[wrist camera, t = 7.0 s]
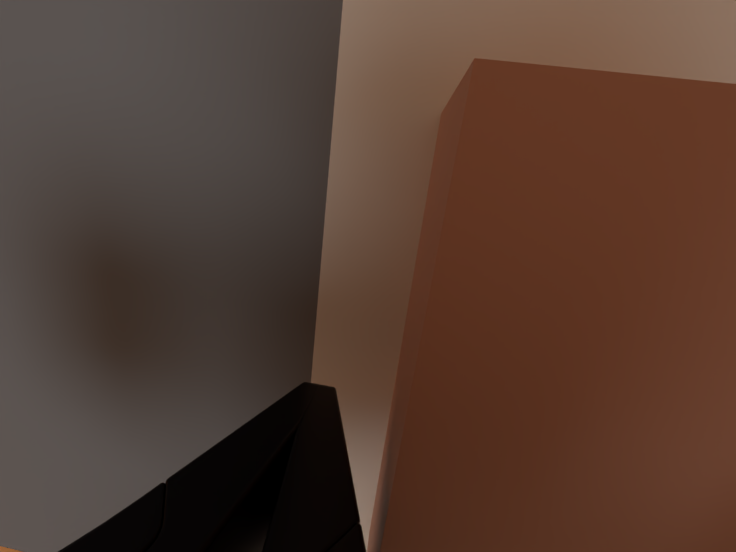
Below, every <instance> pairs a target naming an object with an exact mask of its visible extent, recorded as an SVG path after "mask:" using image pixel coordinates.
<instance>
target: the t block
mask: <svg viewBox="0 0 736 552" xmlns="http://www.w3.org/2000/svg"><path fill="white" fill-rule="evenodd" d="M367 552H736V84H731V83H721V82H711V81H701V80H691V79H681V78H671V77H661V76H651V75H641V74H630V73H620V72H610V71H600V70H590V69H580V68H570V67H560V66H550V65H540V64H530V63H520V62H510V61H499V60H489V59H479V58H474V60H473V61H472V63H471V65H470V66H469V68H468V70H467V71H466V73H465V75H464V76H463V78H462V80H461V81H460V83H459V85H458V86H457V88H456V90H455V91H454V93H453V95H452V96H451V98H450V100H449V101H448V103H447V105H446V106H445V108H444V110H443V111H442V113H441V117H440V123H439V129H438V134H437V140H436V146H435V152H434V158H433V164H432V170H431V175H430V181H429V187H428V193H427V199H426V205H425V210H424V216H423V222H422V228H421V234H420V240H419V245H418V251H417V257H416V263H415V269H414V275H413V280H412V286H411V292H410V298H409V304H408V310H407V315H406V321H405V327H404V333H403V339H402V345H401V350H400V356H399V362H398V368H397V374H396V380H395V385H394V391H393V397H392V403H391V409H390V415H389V420H388V426H387V432H386V438H385V444H384V450H383V456H382V461H381V467H380V473H379V479H378V485H377V491H376V496H375V502H374V508H373V514H372V520H371V526H370V531H369V539H368V547H367Z"/></svg>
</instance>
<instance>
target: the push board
mask: <svg viewBox="0 0 736 552" xmlns="http://www.w3.org/2000/svg"><path fill="white" fill-rule="evenodd" d="M474 58H479V59H489V60H499V61H510V62H520V63H530V64H540V65H550V66H560V67H570V68H580V69H590V70H600V71H610V72H620V73H630V74H641V75H651V76H661V77H671V78H681V79H691V80H701V81H711V82H721V83H731V84H736V0H0V546H3V547H7V548H11V549H15V550H19V551H23V552H58V551H59V550H61V549H63V548H64V547H66V546H67V545H69V544H71V543H72V542H74V541H75V540H77V539H79V538H80V537H82V536H83V535H85V534H86V533H88V532H90V531H91V530H93V529H94V528H96V527H98V526H99V525H101V524H102V523H104V522H105V521H107V520H108V519H110V518H111V517H113V516H114V515H116V514H117V513H118V512H120V511H121V510H123V509H124V508H126V507H127V506H129V505H130V504H132V503H133V502H135V501H136V500H138V499H139V498H140V497H142V496H143V495H145V494H146V493H148V492H149V491H150V490H152V489H153V488H155V487H156V486H157V485H159V484H160V483H166V480H167V479H168V478H169V477H170V476H172V475H173V474H175V473H176V472H177V471H179V470H180V469H182V468H183V467H184V466H186V465H187V464H189V463H190V462H191V461H193V460H194V459H196V458H197V457H198V456H200V455H201V454H203V453H204V452H206V451H207V450H208V449H210V448H211V447H213V446H214V445H215V444H217V443H218V442H220V441H221V440H222V439H224V438H225V437H227V436H228V435H229V434H231V433H232V432H234V431H235V430H236V429H238V428H239V427H241V426H242V425H244V424H245V423H246V422H248V421H249V420H251V419H252V418H253V417H255V416H256V415H258V414H259V413H260V412H262V411H263V410H265V409H266V408H267V407H269V406H270V405H272V404H273V403H274V402H276V401H277V400H279V399H280V398H281V397H283V396H284V395H286V394H287V393H289V392H290V391H291V390H293V389H294V388H296V387H297V386H298V385H300V384H301V383H303V382H310V383H316V384H320V385H327V386H332V387H335V388H336V391H337V397H338V402H339V408H340V413H341V419H342V424H343V429H344V435H345V440H346V446H347V451H348V457H349V462H350V467H351V473H352V478H353V484H354V489H355V495H356V500H357V506H358V511H359V516H360V524H361V526H362V531H363V537H364V542H365V547H366V552H367V547H368V539H369V531H370V526H371V520H372V514H373V508H374V502H375V496H376V491H377V485H378V479H379V473H380V467H381V461H382V456H383V450H384V444H385V438H386V432H387V426H388V420H389V415H390V409H391V403H392V397H393V391H394V385H395V380H396V374H397V368H398V362H399V356H400V350H401V345H402V339H403V333H404V327H405V321H406V315H407V310H408V304H409V298H410V292H411V286H412V280H413V275H414V269H415V263H416V257H417V251H418V245H419V240H420V234H421V228H422V222H423V216H424V210H425V205H426V199H427V193H428V187H429V181H430V175H431V170H432V164H433V158H434V152H435V146H436V140H437V134H438V129H439V123H440V117H441V113H442V111H443V110H444V108H445V106H446V105H447V103H448V101H449V100H450V98H451V96H452V95H453V93H454V91H455V90H456V88H457V86H458V85H459V83H460V81H461V80H462V78H463V76H464V75H465V73H466V71H467V70H468V68H469V66H470V65H471V63H472V61H473V60H474Z"/></svg>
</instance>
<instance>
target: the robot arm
mask: <svg viewBox="0 0 736 552" xmlns="http://www.w3.org/2000/svg"><path fill="white" fill-rule="evenodd" d="M58 552H366V547H365V542H364V537H363V531H362V526H361V524H360V516H359V511H358V506H357V500H356V495H355V489H354V484H353V478H352V473H351V467H350V462H349V457H348V451H347V446H346V440H345V435H344V429H343V424H342V419H341V413H340V408H339V402H338V397H337V391H336V388H335V387H332V386H327V385H320V384H316V383H310V382H303V383H301V384H300V385H298V386H297V387H296V388H294V389H293V390H291V391H290V392H289V393H287V394H286V395H284V396H283V397H281V398H280V399H279V400H277V401H276V402H274V403H273V404H272V405H270V406H269V407H267V408H266V409H265V410H263V411H262V412H260V413H259V414H258V415H256V416H255V417H253V418H252V419H251V420H249V421H248V422H246V423H245V424H244V425H242V426H241V427H239V428H238V429H236V430H235V431H234V432H232V433H231V434H229V435H228V436H227V437H225V438H224V439H222V440H221V441H220V442H218V443H217V444H215V445H214V446H213V447H211V448H210V449H208V450H207V451H206V452H204V453H203V454H201V455H200V456H198V457H197V458H196V459H194V460H193V461H191V462H190V463H189V464H187V465H186V466H184V467H183V468H182V469H180V470H179V471H177V472H176V473H175V474H173V475H172V476H170V477H169V478H168V479H167V480H166V483H160V484H159V485H157V486H156V487H155V488H153V489H152V490H150V491H149V492H148V493H146V494H145V495H143V496H142V497H140V498H139V499H138V500H136V501H135V502H133V503H132V504H130V505H129V506H127V507H126V508H124V509H123V510H121V511H120V512H118V513H117V514H116V515H114V516H113V517H111V518H110V519H108V520H107V521H105V522H104V523H102V524H101V525H99V526H98V527H96V528H94V529H93V530H91V531H90V532H88V533H86V534H85V535H83V536H82V537H80V538H79V539H77V540H75V541H74V542H72V543H71V544H69V545H67V546H66V547H64V548H63V549H61V550H59V551H58Z"/></svg>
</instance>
